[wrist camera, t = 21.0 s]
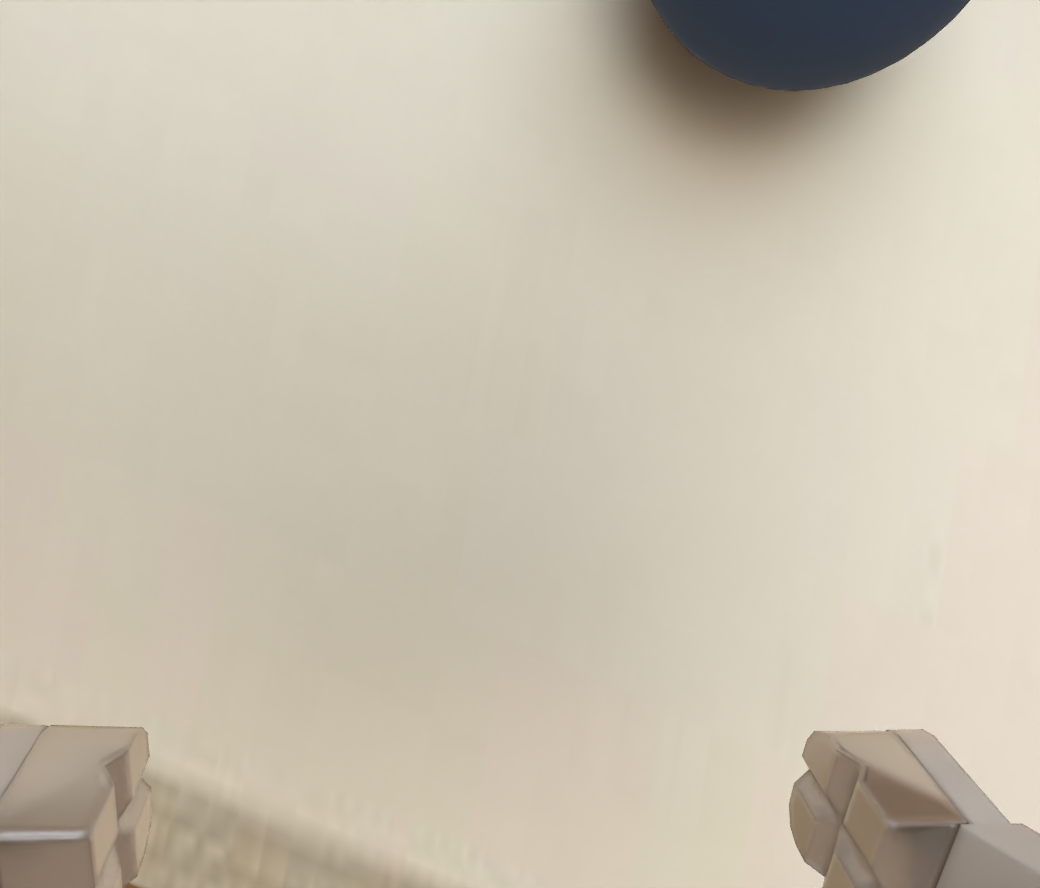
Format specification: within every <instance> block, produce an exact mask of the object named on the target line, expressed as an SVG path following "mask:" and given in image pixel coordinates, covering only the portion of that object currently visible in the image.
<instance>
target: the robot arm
mask: <svg viewBox="0 0 1040 888" xmlns="http://www.w3.org/2000/svg"><path fill="white" fill-rule="evenodd" d="M149 756H150V754H149V744H148V733H147V732H146V731H145V730H144V728H143V727H108V726H71V725H51V726H44V725H1V726H0V888H124V887H125V886H126V885H127V884H129V883H130V882H131V881H132V880H133V879H135V878H136V877H137V875H138V872H139V869H140V866H141V863H142V860H143V858H144V855H145V851H146V846H147V841H148V836H149V831H150V826H151V814H152V789H151V786H150V785H149V784H148V783H147V782H146V781H145V780H144V779H143V778H142V777H141V776H142V774H143V771H144V769H145V766H146V764H147V761H148V759H149ZM802 757H803V759H804V761H805V763H806V764H807V766H808V768H809V770H808V771H807V772H806V773H805V774H804V775H803V776H801V777H800V778H799V779H798V780H797V781H796V782H795V783H794V786H793V790H792V794H791V798H790V802H789V813H790V827H791V830H792V834H793V837H794V840H795V844H796V846H797V848H798V850H799V852H800V854H801V856H802V858H803V859H804V861H805V862H806V863H807V864H808V865H810V866H811V867H812V868H814V869H815V870H816V871H818V872H819V873H820V874H822V875H823V876H824V882H823V887H822V888H1040V834H1039V833H1037V832H1035V831H1034V830H1032V829H1030V828H1029V827H1027V826H1025V825H1023V824H1011V823H1010V822H1009V821H1008V820H1007V819H1006V818H1005V816H1004V815H1003V814H1002V813H1001V812H1000V811H999V810H998V808H997V807H996V806H995V805H994V804H993V803H992V802H991V800H990V799H989V798H988V797H987V796H986V795H985V793H984V792H983V791H982V790H981V789H980V788H979V787H978V785H977V784H976V783H975V782H974V781H973V780H972V779H971V777H970V776H969V775H968V774H967V773H966V772H965V771H964V769H963V768H962V767H961V766H960V765H959V764H958V762H957V761H956V760H955V759H954V758H953V757H952V756H951V754H950V753H949V752H948V751H947V750H946V749H945V748H944V746H943V745H942V744H941V743H940V742H939V741H938V739H937V738H936V737H935V736H934V735H932V734H930V733H929V732H927V731H925V730H923V729H909V730H886V731H814V732H813V733H812V734H811V736H810V737H809V738H808V739H807V741H806V744H805V748H804V751H803V754H802Z"/></svg>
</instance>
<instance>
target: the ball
mask: <svg viewBox="0 0 1040 888" xmlns="http://www.w3.org/2000/svg"><path fill="white" fill-rule="evenodd" d="M651 1H652V3H653V4H654V6H655V8H656V9H657V11H658V13H659V14H660V16H661V18H662V19H663V21H664V23H665V24H666V25H667V27H668V28H669V29H670V30H671V32H672V33H673V34H674V35H675V37H676V38H677V39H678V40H679V41H680V42H681V43H682V44H683V45H684V46H685V47H686V48H687V49H688V50H689V51H690V52H691V53H692V54H693V55H695V56H696V57H697V58H699V59H700V60H701V61H703V62H704V63H706V64H707V65H708V66H710V67H711V68H713V69H715V70H717V71H719V72H721V73H723V74H725V75H726V76H729V77H731V78H734V79H737V80H739V81H742V82H745V83H748V84H750V85H754V86H759V87H764V88H768V89H775V90H789V91H799V90H813V89H821V88H827V87H832V86H837V85H841V84H846V83H849V82H852V81H855V80H858V79H861V78H863V77H866V76H869V75H871V74H873V73H876V72H878V71H880V70H882V69H884V68H886V67H888V66H890V65H892V64H894V63H896V62H898V61H899V60H901V59H903V58H905V57H906V56H907V55H909V54H910V53H912V52H913V51H915V50H916V49H918V48H919V47H921V46H922V45H923V44H925V43H926V42H927V41H929V40H930V39H931V38H932V37H934V36H935V35H936V34H937V33H938V32H939V31H941V30H942V29H943V28H944V27H945V26H946V25H947V24H948V23H950V22H951V21H952V20H953V19H954V18H955V17H956V16H957V15H958V13H959V12H960V11H961V10H962V9H963V8H964V7H965V6H966V4H967V3H968V2H969V1H970V0H651Z"/></svg>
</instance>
